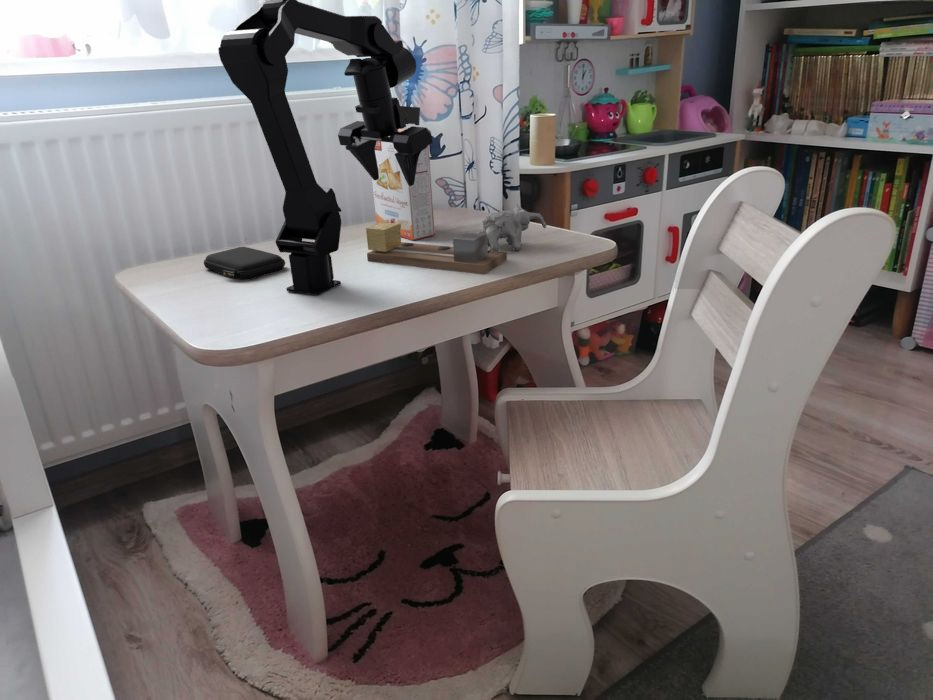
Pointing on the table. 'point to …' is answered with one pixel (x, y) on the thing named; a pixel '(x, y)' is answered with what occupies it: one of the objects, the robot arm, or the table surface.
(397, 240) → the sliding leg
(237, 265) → the carrying case or bag
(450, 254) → the board
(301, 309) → the table surface
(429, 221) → the cracker box
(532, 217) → the elephant statuette
